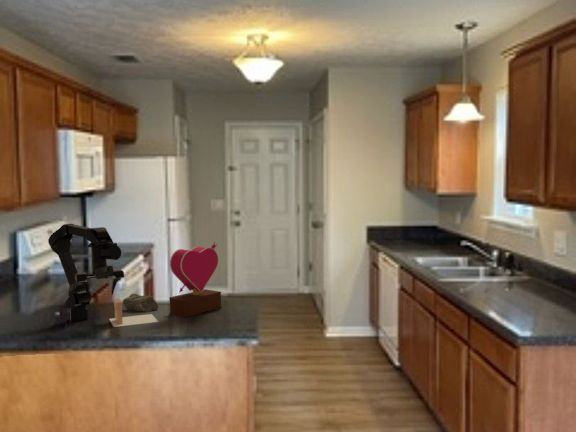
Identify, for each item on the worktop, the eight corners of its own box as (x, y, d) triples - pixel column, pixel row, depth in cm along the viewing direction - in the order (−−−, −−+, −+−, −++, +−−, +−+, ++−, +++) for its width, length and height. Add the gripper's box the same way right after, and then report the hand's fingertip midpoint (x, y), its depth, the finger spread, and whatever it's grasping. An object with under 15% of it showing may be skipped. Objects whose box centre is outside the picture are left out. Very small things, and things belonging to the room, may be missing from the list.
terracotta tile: (117, 324, 247) (116, 302, 247) (115, 320, 255) (114, 298, 254) (122, 323, 248) (121, 302, 248) (119, 319, 256) (119, 298, 255)
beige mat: (113, 328, 243) (113, 326, 243) (109, 319, 257) (109, 318, 257) (158, 322, 251) (158, 321, 250) (151, 315, 264) (151, 314, 264)
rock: (116, 302, 271) (127, 292, 280) (119, 315, 273) (130, 305, 282) (150, 302, 266) (160, 292, 275) (153, 316, 268) (163, 305, 277)
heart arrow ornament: (210, 304, 284) (208, 240, 282) (226, 306, 278) (224, 242, 275) (169, 314, 265) (167, 246, 263) (185, 317, 259) (182, 248, 256)
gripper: (77, 262, 236) (79, 302, 237) (126, 259, 244) (127, 297, 245) (74, 259, 246) (75, 297, 247) (120, 255, 254) (122, 292, 255)
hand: (100, 296), depth 248 cm, fingers open, 9 cm apart
